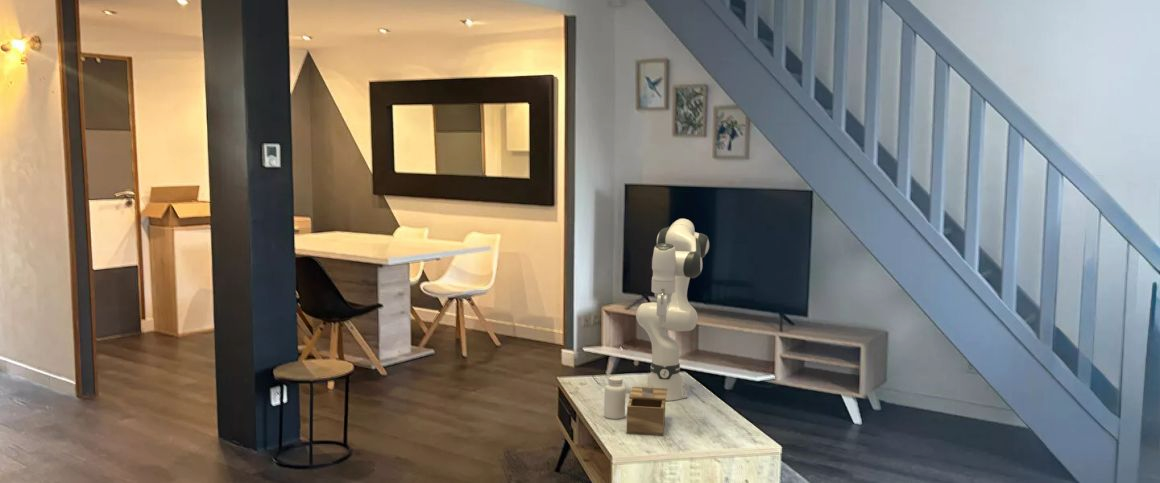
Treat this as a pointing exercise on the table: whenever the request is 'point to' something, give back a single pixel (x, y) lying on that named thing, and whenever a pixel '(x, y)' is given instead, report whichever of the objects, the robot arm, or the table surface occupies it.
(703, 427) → the table surface
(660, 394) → the lid
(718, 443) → the table surface
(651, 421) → the carton
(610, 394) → the pill bottle
